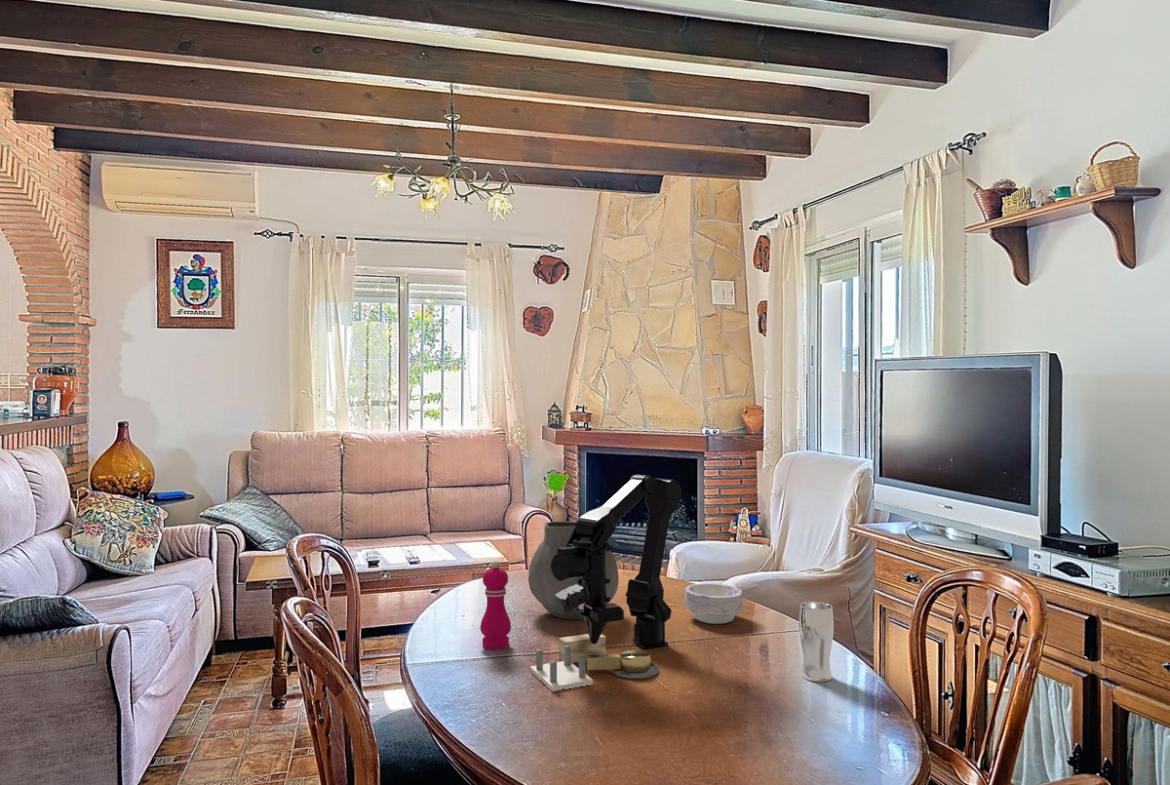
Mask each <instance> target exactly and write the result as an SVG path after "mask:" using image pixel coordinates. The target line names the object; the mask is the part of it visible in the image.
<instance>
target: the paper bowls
mask: <svg viewBox="0 0 1170 785" xmlns="http://www.w3.org/2000/svg"><path fill="white" fill-rule="evenodd" d="M684 607H685V609H687V610H689V611H690V612H691V613H692V616H693V618H694V619H695V620H697V621H699V622H701V623H705V624H710V625H711V624H713V625H719V624H720V625H721V624H723V625H724V624H727V623H728V624H729V623H730V622H732V621H733V620H734V618H735V617H736V615H738V614H740V613H741V612H742V611H743V610H744V592H743V590H742V589H740V588H739V587H736V586H732V585H727V584H722V583H705V582H704V583H694V584H691V585H688V586H686V587H685V588H684Z"/></svg>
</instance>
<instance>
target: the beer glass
mask: <svg viewBox="0 0 1170 785" xmlns="http://www.w3.org/2000/svg"><path fill="white" fill-rule="evenodd" d="M833 610H834V609H833V605H832V604H829V603H828V602H823V601H805V602H801V603H800V604H799V616H798V619H799V620H798V628H799V629H798V630H799V631H798V632H799V638H800V644H801V649H802V656H803V661H802V669H801V678H803V679H804V680H807V681H810V682H815V683H826V682H829V681H831V680H832V676H833V675H832V671H831V664H830V662H831V661H830V659H831V657H830V656H831V650H832V646H833V640H834V639H833V638H834V630H835V628H834V627H835V625H834V623H835V622H834V614H833V612H834V611H833Z"/></svg>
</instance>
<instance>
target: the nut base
mask: <svg viewBox="0 0 1170 785" xmlns="http://www.w3.org/2000/svg"><path fill="white" fill-rule="evenodd" d="M611 673H612V674H613V675H614V676H615V675H616V677H618V676H619V677H618V678H622V679H625V678H627V679H626V680H646V679H645V678H647V679H651V678H653V676H654V677H655V676H657V675H658V674H659V667H658V666H657V665H656V664H655V663H653V662H650V669H649V670H647V671H644V672H627V671H624V670H622V669H611ZM650 677H651V678H650Z"/></svg>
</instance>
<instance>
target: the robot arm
mask: <svg viewBox="0 0 1170 785" xmlns="http://www.w3.org/2000/svg"><path fill="white" fill-rule="evenodd" d="M682 494H683V489H682V487H681V486H680V483H679V482H678V480H675V479H668V478H667V479H666V478H656V477H655V478H654V477H652V476H650V475H644V474H643V475H642V474H634V475H632V476H631V477H630V479H629V481H628V482H627V483H626V484H624V485H623V486H622V487H621V488H620V489H619V490H618V491H617V492H616V493H615V494H613V495H612V497H610V498H609V499H607V501H606V502H605V503H604V504H603V505H601V506H599V507H597V508H594V509H591V510H589V511H587V512H585V513H584V514H583V515H581V516H580V517H579V518H578V519H577V520H576V521H575V522H576V526H575V528H574V530H573V532H572V534H571V536H570V538H569V540H568V542H567V545H566V546H567V548H558V549H557V554H556V555H555V556H554V557H553V559H552V562H551V571H552V573H553V575H554V577H555V578H556V579H557V580H559V581H564V580H568V579H572V578H577V579H576V585H573V586H570V587H568V588H566V589H564V590H562V591H560V592H558V593H557V594H555V596H556V599H557V602H558V605H559V608H560V609H563V610H564V611H565V612H569V611H571V610H572V609H573V608H575V607H577V606H579V609H577V610H576V612H578V613H579V614H580V615H581V616H582V617H583V620H584V624H585V627H586V630H587V634H589V638H590V641H591V643H592V644H596V643H597V642H598V640H599V638H600V635H601V634H602V633H603V631H604V630H605V627H606V625H607V623H610V622H618V621H623V620H625V610H624V609H623V608H622V607H621V606H620V605H618V604H616V603H614V602H611V601H610V597H609V596H607V595H606V584H607V583H610V578H608V577H606V552H607V551H611V552H612V551H613V550H614V547H613V546H612V545H611V544H610V543H609V542H608V541H609V540H610V538H612V536H613V534H614V533H615V532H616V529H617V523H618V522H619V521H620V520H621V518H623V517H624V516H625V515H626V514H627V513H628V512H629V511H630V510H631V509H632V508H633V507H634V506H636V504H637V503H638V502H640V501H641V499H643V497H644V496H645V501H644V502H645V505H646V508H647V510H648V519H647V525H646V531H645V537H644V543H643V548H642V554H641V559H640V566H639V571H638V574H637V575H636V576H635V577H634V579H632V578H629V579H628V582H627V590H626V593H625V595H624V596H625V597H626V604H627V605H628V609H629V610H628V611H629V613H630V614H629V615H630V616H631V617H635V623H634V624H633V639H632V642H633V643H635V644H636V645H639V646H640V647H641V648H643V649H651V648H657V647H658V648H659V647H663V646H668V645H669V642H668V641H666V622H668V620H670V619H671V616H672V609H671V607H669V605H668V604H667V603H666V602H665V600H664V595H665V594H664V593H665V592H664V585H663V583H662V580H661V571H662V566H663V559H664V554H665V547H666V543H667V535H668V530H669V526H670V525H669V523H670V518H671V517H672V515H673V514H674V513H675V512H676V511H677V509H678V508H679V504H680V502H681V499H682V498H681V497H682V496H683V495H682ZM580 540H582V541H587V542H592V543H587V542H582V541H580ZM605 602H609V603H608V604H605Z"/></svg>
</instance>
